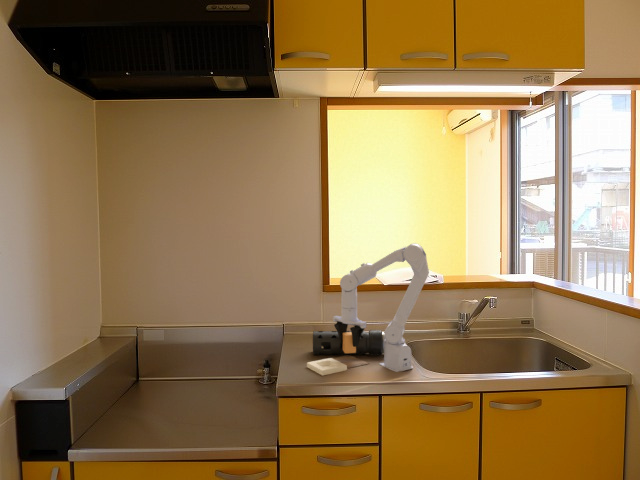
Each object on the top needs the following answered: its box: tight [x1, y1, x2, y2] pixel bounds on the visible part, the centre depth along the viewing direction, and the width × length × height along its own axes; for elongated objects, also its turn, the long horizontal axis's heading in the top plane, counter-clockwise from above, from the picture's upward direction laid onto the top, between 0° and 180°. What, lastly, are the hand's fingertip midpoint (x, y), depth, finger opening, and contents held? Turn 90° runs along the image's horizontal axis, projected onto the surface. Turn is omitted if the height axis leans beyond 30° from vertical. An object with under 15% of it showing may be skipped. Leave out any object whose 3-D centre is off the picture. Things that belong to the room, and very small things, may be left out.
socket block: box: [306, 357, 348, 376], centre depth 158 cm, size 10×10×2 cm
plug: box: [343, 332, 356, 353], centre depth 165 cm, size 4×4×6 cm
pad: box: [331, 355, 370, 369], centre depth 165 cm, size 12×9×1 cm
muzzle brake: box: [312, 329, 385, 356], centre depth 175 cm, size 10×28×10 cm
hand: (349, 344), depth 165 cm, fingers closed on plug, 5 cm apart
